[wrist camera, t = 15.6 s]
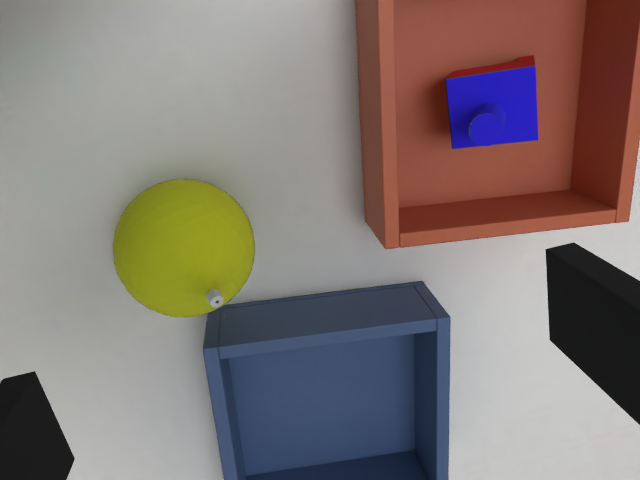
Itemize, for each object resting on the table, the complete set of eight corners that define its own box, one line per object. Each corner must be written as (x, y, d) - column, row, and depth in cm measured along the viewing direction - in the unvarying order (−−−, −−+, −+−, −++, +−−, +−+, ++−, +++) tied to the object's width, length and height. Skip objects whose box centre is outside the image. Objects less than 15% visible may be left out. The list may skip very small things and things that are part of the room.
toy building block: (456, 67, 31) (436, 87, 24) (535, 55, 30) (537, 72, 23) (462, 128, 32) (444, 163, 26) (537, 119, 31) (540, 154, 24)
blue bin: (235, 481, 38) (234, 542, 33) (208, 307, 33) (202, 349, 28) (423, 452, 39) (448, 506, 34) (422, 280, 34) (451, 316, 30)
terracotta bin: (364, 221, 33) (385, 249, 28) (353, -27, 28) (375, -44, 23) (576, 198, 34) (629, 221, 29) (598, -43, 29) (666, -60, 25)
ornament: (269, 262, 33) (279, 347, 23) (156, 298, 32) (121, 398, 23) (230, 150, 30) (223, 195, 21) (108, 188, 30) (46, 250, 21)
